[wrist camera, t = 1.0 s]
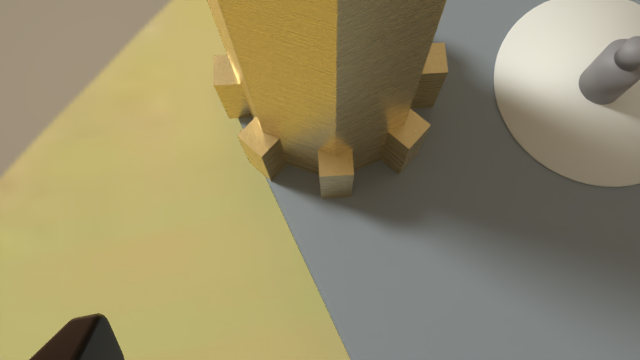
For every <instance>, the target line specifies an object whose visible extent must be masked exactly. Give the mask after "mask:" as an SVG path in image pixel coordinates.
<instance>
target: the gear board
mask: <svg viewBox="0 0 640 360" xmlns="http://www.w3.org/2000/svg"><path fill="white" fill-rule="evenodd" d="M432 43H445V50H446V58H447V66H448V74H447V76H446V79H445V81H444V83H443V85H442V88H441V90H440V92H439V95H438V97H437V99H436V102H435V104H434V106H433V107H429V108H411V109H412V110H413V111H414V112H415V113H417V114H418V115H419V116H420V117H422V118H423V119H424V120H425V121H427V122H428V123H429V124H430V125H431V126H430V128H429V131H428V133H427V135H426V137H425V139H424V141H423V143H422V146H421V148H420V150H419V152H418V154H417V155H416V156H415V157H414V158H413V160H412V161H411V162H410V163H409V164H408V165H407V166H406V167H405V168H404V170H403V171H402V172H401V173H400V174H397V173H396V172H395V171H394V170H393V169H391V168H390V167H389V166H388V165H387V164H385V163H384V162H383V161H382V160H379V161H377V162H375V163H372V164H370V165H368V166H366V167H364V168H362V169H360V170H357V171H355V172H354V179H353V186H352V194H351V197H344V198H325V199H321V190H320V179H319V175H316V174H314V173H311V172H308V171H305V170H302V169H299V168H296V167H293V166H290V165H287V166H286V167H285V168H284V169H283V170H282V171H281V172H280V173H279V174H278V175H277V176H276V177H275V178H274V179H273V180H272V181H270V180H269V179H268V178H267V177H266V176H265V177H266V179H267V181H268V183H269V185H270V188H271V190H272V192H273V194H274V196H275V198H276V201H277V203H278V205H279V207H280V209H281V211H282V213H283V216H284V218H285V220H286V222H287V224H288V226H289V228H290V231H291V233H292V235H293V237H294V239H295V241H296V243H297V246H298V248H299V250H300V252H301V254H302V256H303V258H304V261H305V263H306V265H307V267H308V269H309V271H310V273H311V276H312V278H313V280H314V282H315V284H316V286H317V288H318V291H319V293H320V295H321V297H322V299H323V301H324V303H325V306H326V308H327V310H328V312H329V314H330V316H331V318H332V321H333V323H334V325H335V327H336V329H337V331H338V333H339V336H340V338H341V340H342V342H343V344H344V346H345V348H346V351H347V353H348V355H349V357H350V359H351V360H640V0H447V1H446V4H445V7H444V10H443V13H442V16H441V19H440V22H439V25H438V28H437V31H436V33H435V36H434V39H433V42H432ZM238 119H239V121H240V123H241V125H242V128H243V129H244V128H245V127H246V126H247V125H248V124H249V123H250V122H251V121H252V120H253V117H249V118H238Z"/></svg>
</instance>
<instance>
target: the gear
mask: <svg viewBox="0 0 640 360" xmlns="http://www.w3.org/2000/svg"><path fill="white" fill-rule="evenodd" d="M207 1H208V4H209V7H210V9H211V12H212V15H213V17H214V20H215V23H216V25H217V28H218V31H219V33H220V36H221V39H222V41H223V44H224V47H225V49H226V52H227V55H214V87H215V89H216V91H217V93H218V95H219V97H220V99H221V102H222V104H223V106H224V108H225V110H226V112H227V114H228V116H229V118H230V119H231V118H249V117H253V120H252V121H251V122H250V123H249V124H248V125H247V126H246V127H245V128H244V129H243V130H242V131H241V132H240V133H239V134H238V135H237V137H238V139H239V141H240V143H241V145H242V147H243V149H244V151H245V153H246V155H247V158H248V160H249V162H250V163H251V164H252V165H253V166H254V167H255V168H256V169H258V170H259V171H260V172H261V173H262V174H263V175H264V176H266V177H267V178H268V179H269V180H270V181H272V180H273V179H274V178H275V177H276V176H277V175H278V174H279V173H280V172H281V171H282V170H283V169H284V168H285V167H286V166H287V165H290V166H293V167H296V168H299V169H302V170H305V171H308V172H311V173H314V174H316V175H319V179H320V190H321V199H325V198H344V197H351V194H352V186H353V179H354V172H355V171H357V170H360V169H362V168H364V167H366V166H368V165H370V164H372V163H375V162H377V161H379V160H382V161H383V162H384V163H385V164H387V165H388V166H389V167H390V168H391V169H393V170H394V171H395V172H396V173H397V174H400V173H401V172H402V171H403V170H404V168H405V167H406V166H407V165H408V164H409V163H410V162H411V161H412V160H413V158H414V157H415V156H416V155H417V154H418V152H419V150H420V148H421V146H422V143H423V141H424V139H425V137H426V135H427V133H428V131H429V128H430V126H431V125H430V124H429V123H428V122H427V121H425V120H424V119H423V118H422V117H420V116H419V115H418V114H417V113H415V112H414V111H413V110H412V109H411V108H429V107H433V106H434V104H435V102H436V99H437V97H438V95H439V92H440V90H441V88H442V85H443V83H444V81H445V79H446V76H447V74H448V66H447V58H446V50H445V43H432V42H433V39H434V36H435V33H436V31H437V28H438V25H439V22H440V19H441V16H442V13H443V10H444V7H445V4H446V1H447V0H207Z"/></svg>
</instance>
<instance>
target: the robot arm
mask: <svg viewBox="0 0 640 360" xmlns="http://www.w3.org/2000/svg"><path fill="white" fill-rule="evenodd" d="M29 360H124V356H123V353H122V351H121V349H120V346H119V344H118V342H117V340H116V337H115V335H114V333H113V330H112V328H111V326H110V324H109V321H108V320H107V318H106V317H105V316H104V315H102V314H99V313H97V314H92V315H87V316H82V317H77V318H74V319H72V320H70V321H69V322H68V323H67V324H66V325H65V326H64V327H63V328H62V329H61V330H60V331H59V332H58V333H57V334H56V335H55V336H53V337H52V338H51V339H50V340H49V341H48V342H47V343H46V344H45V345H44V346H43V347H42V348H41V349H40V350H39V351H38V352H37V353H36V354H35V355H34V356H33V357H32V358H31V359H29Z"/></svg>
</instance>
